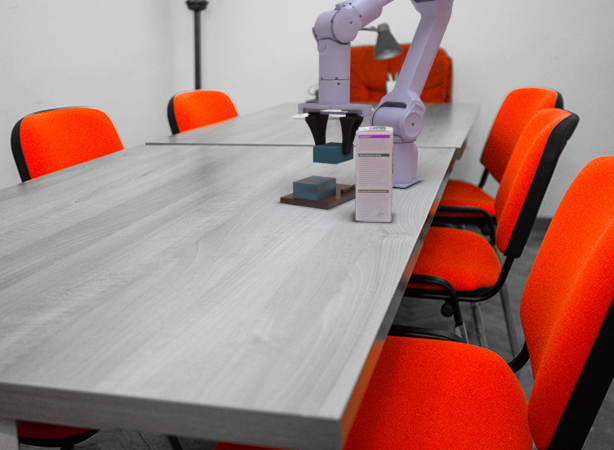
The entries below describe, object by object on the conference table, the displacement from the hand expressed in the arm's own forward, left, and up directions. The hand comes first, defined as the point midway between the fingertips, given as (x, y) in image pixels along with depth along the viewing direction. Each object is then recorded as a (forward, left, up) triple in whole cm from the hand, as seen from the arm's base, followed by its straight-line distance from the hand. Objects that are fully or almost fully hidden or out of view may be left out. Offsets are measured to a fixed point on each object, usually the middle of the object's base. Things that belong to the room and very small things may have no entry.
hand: (333, 153), depth 109 cm
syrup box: (+13, +14, -8) cm, 21 cm away
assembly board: (+4, 0, -8) cm, 9 cm away
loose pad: (0, 0, -1) cm, 1 cm away
